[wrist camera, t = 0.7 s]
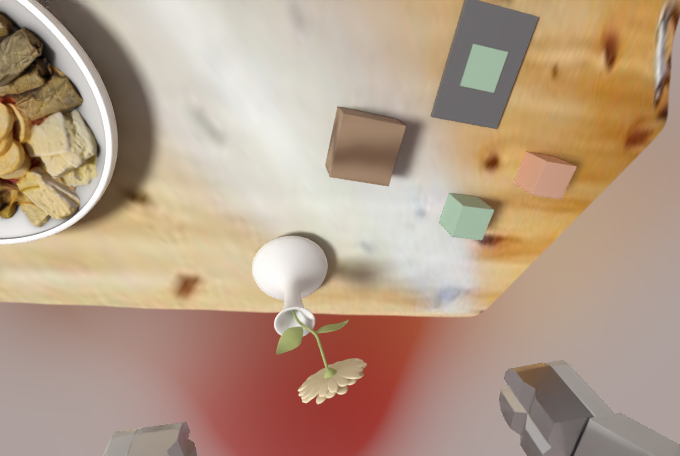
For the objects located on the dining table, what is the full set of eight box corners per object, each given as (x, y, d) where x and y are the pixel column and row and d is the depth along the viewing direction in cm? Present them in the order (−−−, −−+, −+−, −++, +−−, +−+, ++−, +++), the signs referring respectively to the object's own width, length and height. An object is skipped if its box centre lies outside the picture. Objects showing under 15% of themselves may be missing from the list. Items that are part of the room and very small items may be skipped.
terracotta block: (525, 151, 55) (547, 161, 51) (553, 156, 56) (577, 166, 52) (512, 182, 57) (532, 195, 53) (539, 186, 59) (561, 199, 54)
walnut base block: (337, 106, 48) (343, 113, 44) (394, 118, 50) (406, 126, 45) (325, 164, 51) (330, 177, 47) (379, 173, 53) (388, 186, 49)
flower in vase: (256, 295, 59) (247, 448, 37) (248, 233, 54) (232, 368, 32) (336, 287, 61) (372, 428, 39) (336, 226, 56) (377, 350, 34)
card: (465, -2, 44) (468, -3, 44) (535, 17, 47) (539, 17, 46) (430, 116, 50) (432, 117, 50) (494, 128, 53) (497, 129, 52)
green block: (448, 192, 56) (463, 206, 52) (477, 196, 58) (494, 209, 53) (438, 221, 58) (452, 236, 54) (466, 225, 60) (481, 240, 55)
